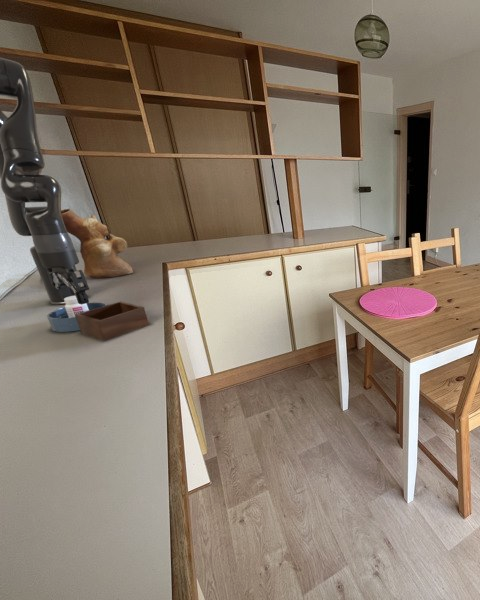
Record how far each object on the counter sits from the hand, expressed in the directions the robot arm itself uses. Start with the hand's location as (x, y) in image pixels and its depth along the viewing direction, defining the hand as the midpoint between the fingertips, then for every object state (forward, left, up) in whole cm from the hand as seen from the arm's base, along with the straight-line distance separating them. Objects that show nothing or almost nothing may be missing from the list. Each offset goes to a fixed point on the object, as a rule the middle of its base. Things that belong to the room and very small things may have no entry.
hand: (75, 301), depth 95 cm
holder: (+13, +2, -7) cm, 15 cm away
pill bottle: (0, 0, -7) cm, 7 cm away
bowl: (0, 0, -7) cm, 7 cm away
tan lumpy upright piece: (-52, +32, -8) cm, 62 cm away
